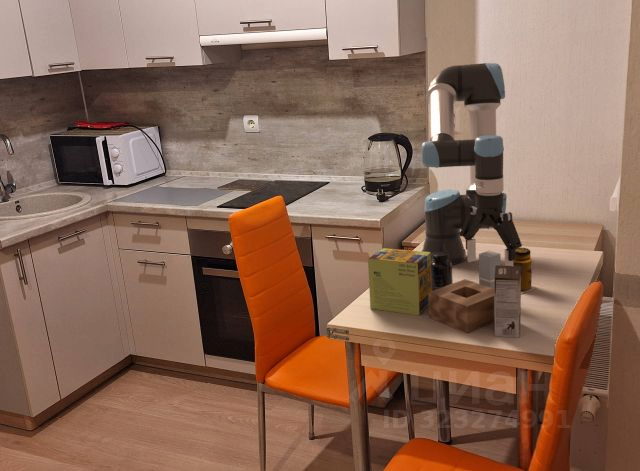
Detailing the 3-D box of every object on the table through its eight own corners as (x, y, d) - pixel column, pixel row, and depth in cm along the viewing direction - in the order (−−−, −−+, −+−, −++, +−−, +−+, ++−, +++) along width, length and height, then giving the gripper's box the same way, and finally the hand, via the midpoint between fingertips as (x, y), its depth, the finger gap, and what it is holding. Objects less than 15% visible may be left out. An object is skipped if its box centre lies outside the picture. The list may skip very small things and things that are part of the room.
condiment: (537, 288, 198) (538, 249, 195) (518, 295, 194) (518, 256, 191) (518, 282, 204) (518, 244, 201) (499, 289, 200) (499, 251, 197)
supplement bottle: (435, 285, 207) (434, 248, 203) (456, 288, 203) (455, 251, 200) (425, 293, 201) (424, 255, 198) (446, 296, 198) (445, 258, 194)
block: (429, 317, 184) (428, 292, 182) (465, 303, 191) (464, 279, 189) (467, 333, 173) (467, 306, 170) (503, 317, 180) (503, 291, 178)
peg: (479, 299, 193) (478, 254, 189) (489, 296, 195) (488, 250, 192) (490, 303, 190) (490, 257, 186) (500, 299, 192) (500, 253, 188)
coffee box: (495, 322, 178) (495, 264, 173) (520, 323, 176) (521, 265, 172) (493, 336, 170) (493, 276, 165) (520, 338, 168) (520, 277, 163)
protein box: (420, 316, 186) (418, 263, 181) (369, 309, 193) (366, 258, 189) (433, 302, 194) (431, 251, 190) (384, 296, 202) (381, 247, 197)
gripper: (446, 189, 192) (448, 260, 197) (516, 201, 172) (516, 279, 177) (464, 185, 196) (466, 254, 201) (535, 196, 176) (534, 272, 181)
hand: (489, 266), depth 189 cm, fingers open, 13 cm apart
